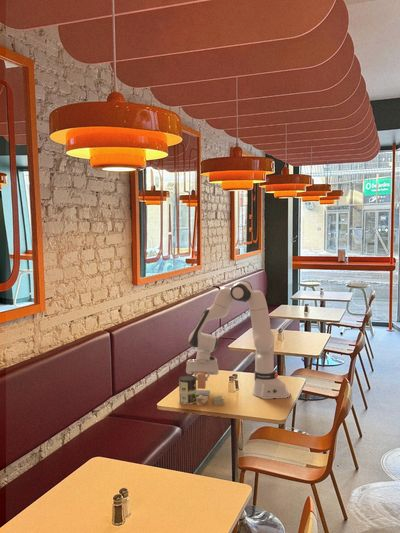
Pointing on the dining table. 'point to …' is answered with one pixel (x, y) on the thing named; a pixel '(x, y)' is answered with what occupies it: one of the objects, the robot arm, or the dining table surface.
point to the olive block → (218, 400)
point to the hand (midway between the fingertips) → (201, 380)
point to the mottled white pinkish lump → (202, 400)
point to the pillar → (201, 380)
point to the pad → (202, 392)
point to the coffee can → (187, 389)
